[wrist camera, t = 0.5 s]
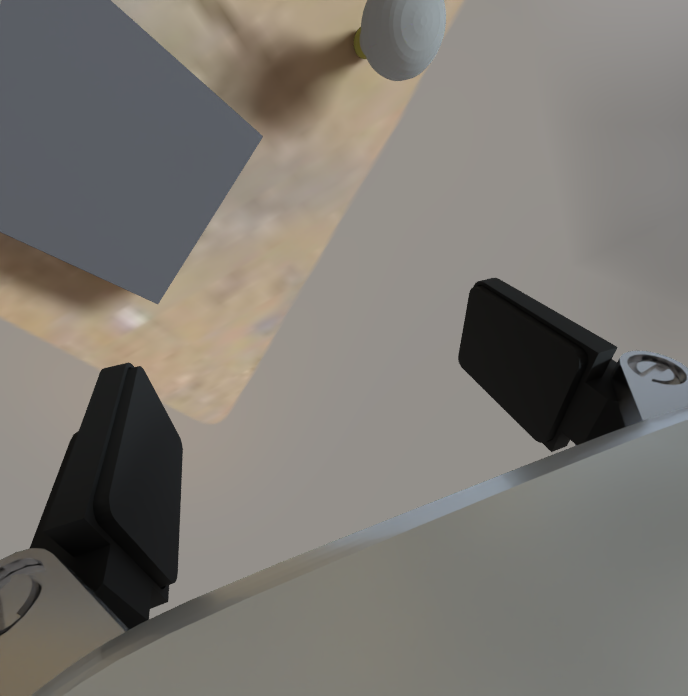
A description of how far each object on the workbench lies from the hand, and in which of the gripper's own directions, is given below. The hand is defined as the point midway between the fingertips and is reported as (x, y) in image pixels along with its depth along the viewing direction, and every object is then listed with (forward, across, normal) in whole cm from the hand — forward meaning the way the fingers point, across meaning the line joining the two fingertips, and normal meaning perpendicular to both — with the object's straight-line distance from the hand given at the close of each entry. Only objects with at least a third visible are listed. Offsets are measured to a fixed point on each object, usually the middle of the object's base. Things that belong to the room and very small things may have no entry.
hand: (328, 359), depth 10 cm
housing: (+28, +8, -3) cm, 29 cm away
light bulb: (+28, -12, -9) cm, 32 cm away
